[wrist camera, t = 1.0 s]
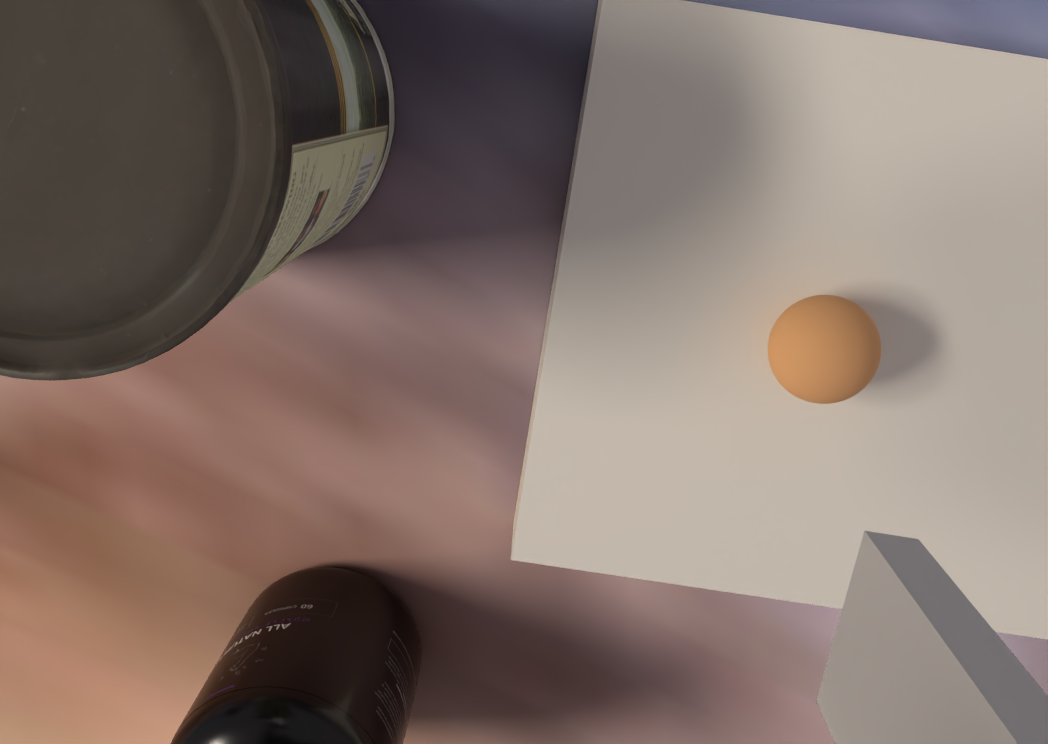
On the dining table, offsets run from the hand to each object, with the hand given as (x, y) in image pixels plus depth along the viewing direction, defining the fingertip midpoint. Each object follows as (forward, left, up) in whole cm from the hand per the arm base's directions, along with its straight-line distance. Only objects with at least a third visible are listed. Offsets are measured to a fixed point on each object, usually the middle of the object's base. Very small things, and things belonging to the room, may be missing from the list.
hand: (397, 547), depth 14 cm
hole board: (0, +16, -20) cm, 26 cm away
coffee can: (-4, -9, -21) cm, 23 cm away
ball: (0, +10, -16) cm, 19 cm away
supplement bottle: (+15, -4, -21) cm, 26 cm away
